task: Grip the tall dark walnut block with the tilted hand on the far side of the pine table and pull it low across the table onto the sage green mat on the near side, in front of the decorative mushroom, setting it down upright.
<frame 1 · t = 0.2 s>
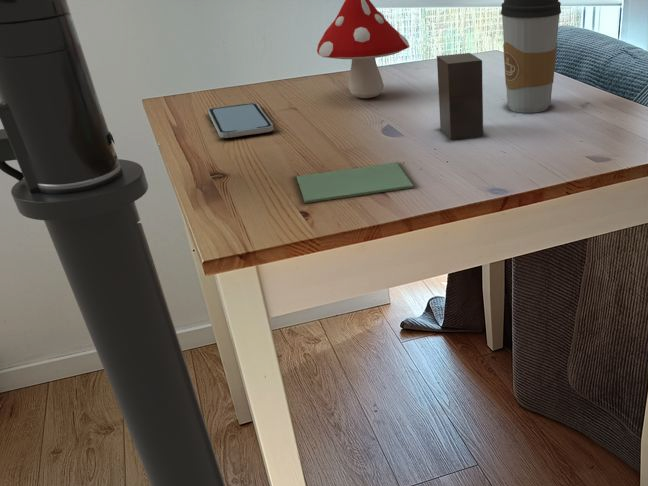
coffee cup: (528, 108, 102), on the table
mat: (353, 183, 78), on the table
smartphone: (240, 123, 100), on the table
decorative mushroom: (368, 98, 110), on the table
walnut block: (461, 133, 93), on the table
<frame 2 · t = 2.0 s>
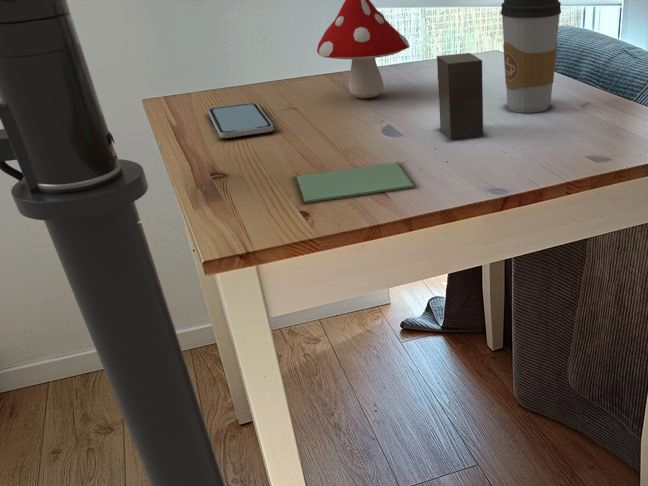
nothing on the table moved.
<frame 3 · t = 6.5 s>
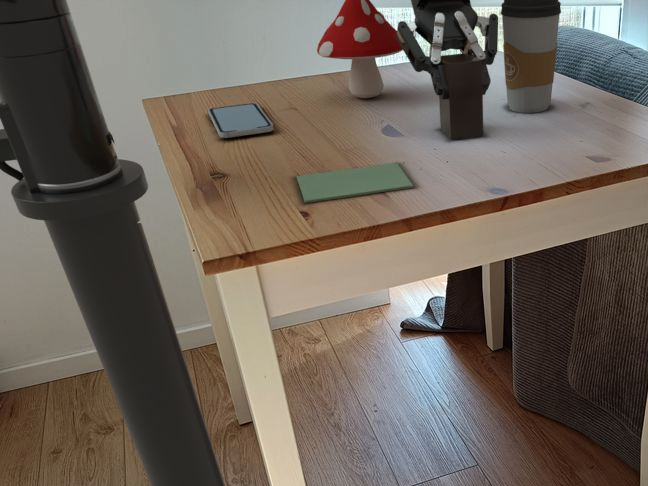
hand: (464, 93, 88), 6 cm above the table, tool tilted 45°, fingers closed on walnut block, 4 cm apart
walnut block: (461, 133, 93), on the table, touching gripper
everything else where it was.
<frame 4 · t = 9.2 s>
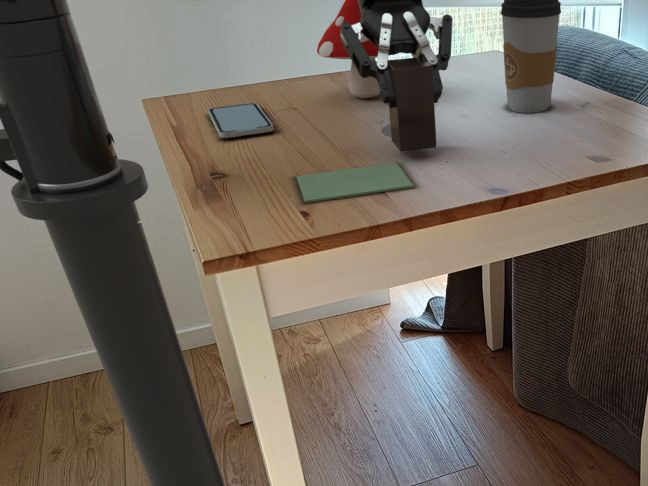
hand: (414, 101, 81), 7 cm above the table, tool tilted 45°, fingers closed on walnut block, 4 cm apart
walnut block: (413, 144, 85), point 1 cm above the table, touching gripper
everything else where it was.
when the fingers open (6 cm above the table, at t = 12.4 s): walnut block stays where it is, resting on mat.
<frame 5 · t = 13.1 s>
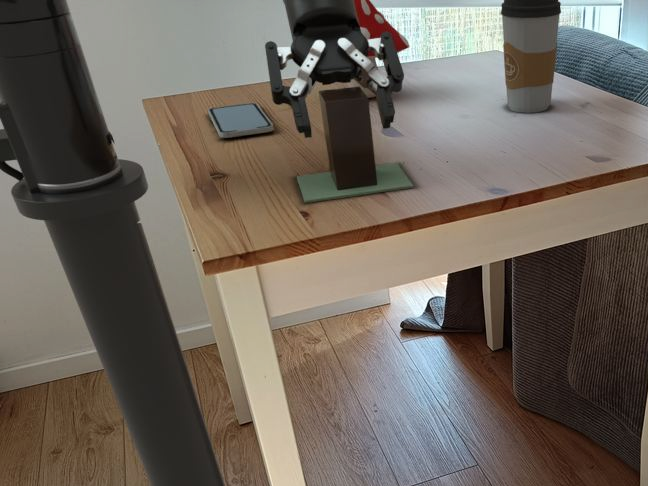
hand: (348, 129, 74), 6 cm above the table, tool tilted 45°, fingers open, 8 cm apart
walnut block: (353, 180, 78), resting on mat
everything else where it was.
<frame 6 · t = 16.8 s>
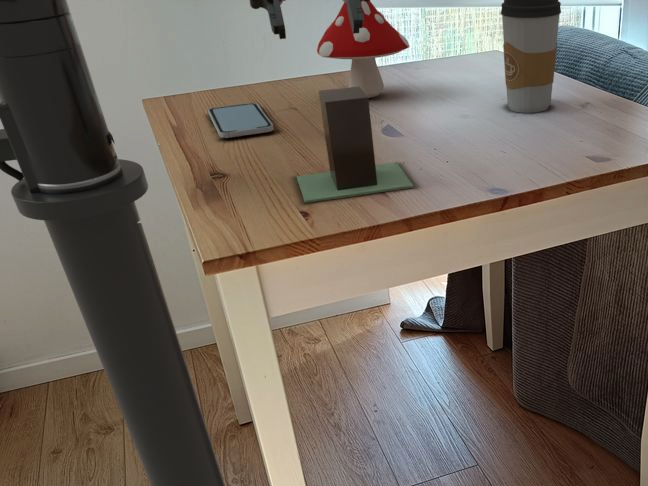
hand: (320, 31, 80), 14 cm above the table, tool tilted 45°, fingers open, 8 cm apart
nothing on the table moved.
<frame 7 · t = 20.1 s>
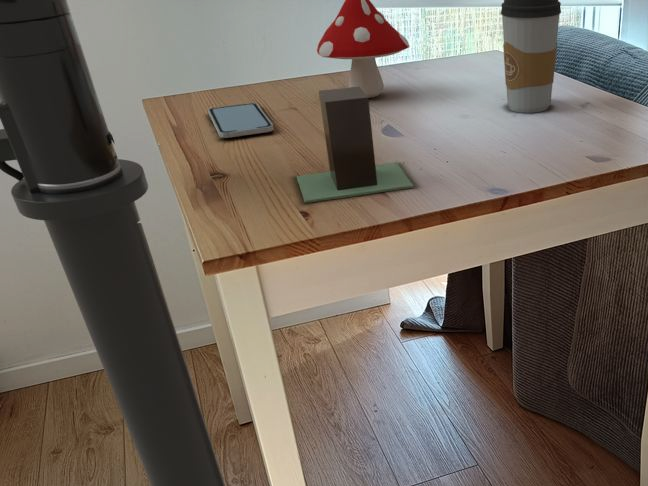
nothing on the table moved.
at the end: walnut block inside the target area on the mat (0.1 cm from its centre), point 0.3 cm above the mat's base; walnut block tilted 0° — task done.
